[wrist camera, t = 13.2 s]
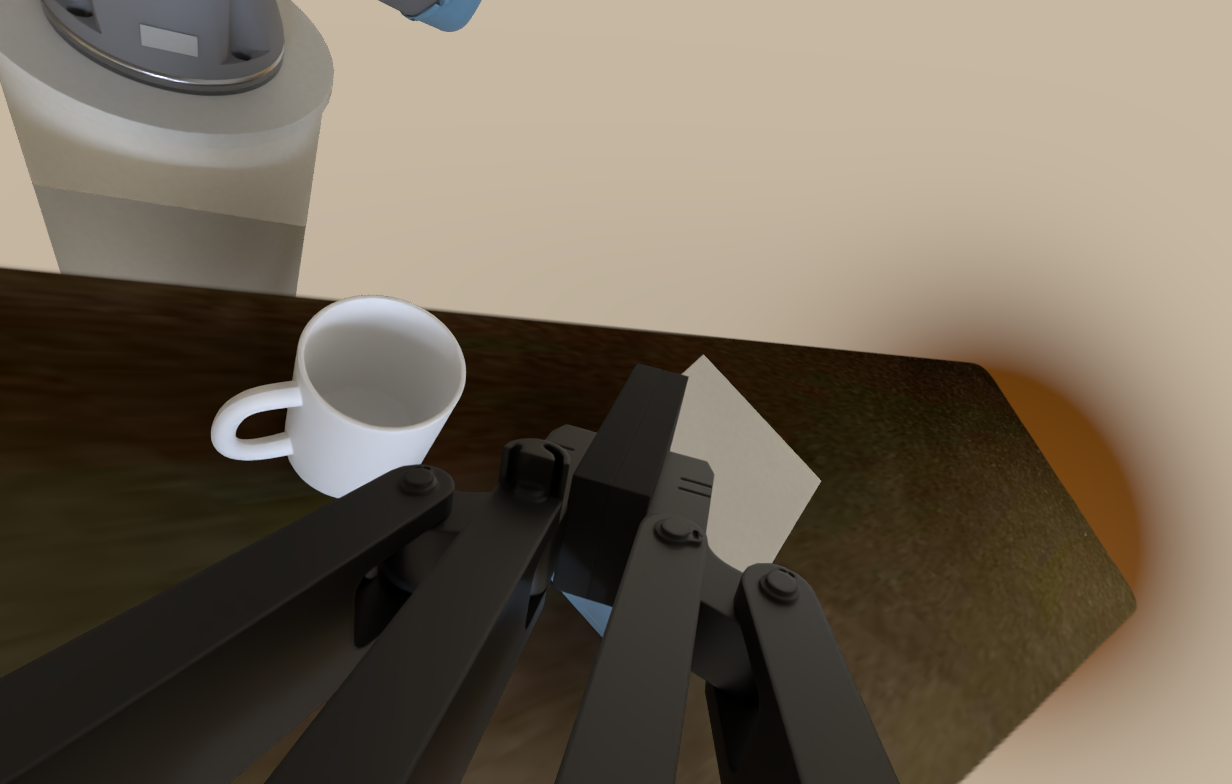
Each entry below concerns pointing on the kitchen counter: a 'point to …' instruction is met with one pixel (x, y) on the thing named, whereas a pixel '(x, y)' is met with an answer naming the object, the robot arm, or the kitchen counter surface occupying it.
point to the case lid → (741, 469)
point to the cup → (355, 395)
